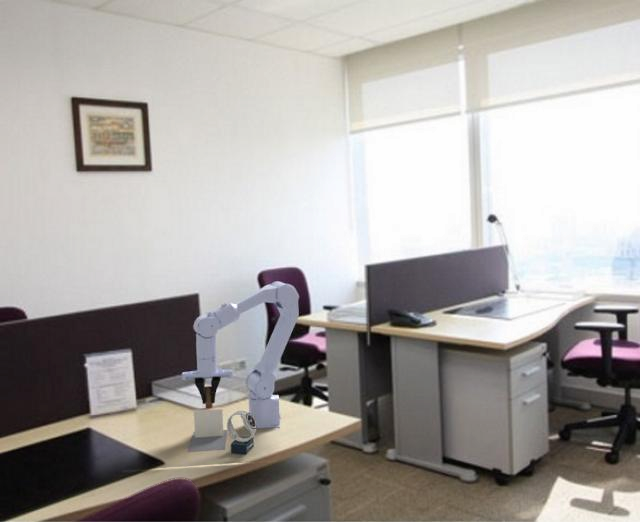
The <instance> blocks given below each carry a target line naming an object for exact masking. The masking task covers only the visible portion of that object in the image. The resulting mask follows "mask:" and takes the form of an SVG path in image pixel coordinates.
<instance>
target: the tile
mask: <svg viewBox="0 0 640 522" xmlns="http://www.w3.org/2000/svg"><path fill="white" fill-rule="evenodd" d="M223 411H224V410H223V407H222V406H220V407H213V408H206V407H204V408H202V407H201V408H199V407H198V408H194V409H193V420H194V422H193V423H194V432H195V438H198V437H214V436H223V434H224V432H223V430H224V416H223V415H224V414H223V413H224V412H223Z"/></svg>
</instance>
